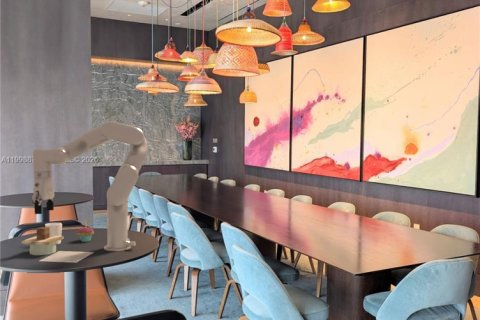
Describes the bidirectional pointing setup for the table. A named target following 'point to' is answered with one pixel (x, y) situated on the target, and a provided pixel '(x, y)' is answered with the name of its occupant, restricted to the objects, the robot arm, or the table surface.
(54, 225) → the white cup
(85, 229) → the cupcake
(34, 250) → the bowl
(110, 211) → the robot arm
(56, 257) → the mat
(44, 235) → the lid
